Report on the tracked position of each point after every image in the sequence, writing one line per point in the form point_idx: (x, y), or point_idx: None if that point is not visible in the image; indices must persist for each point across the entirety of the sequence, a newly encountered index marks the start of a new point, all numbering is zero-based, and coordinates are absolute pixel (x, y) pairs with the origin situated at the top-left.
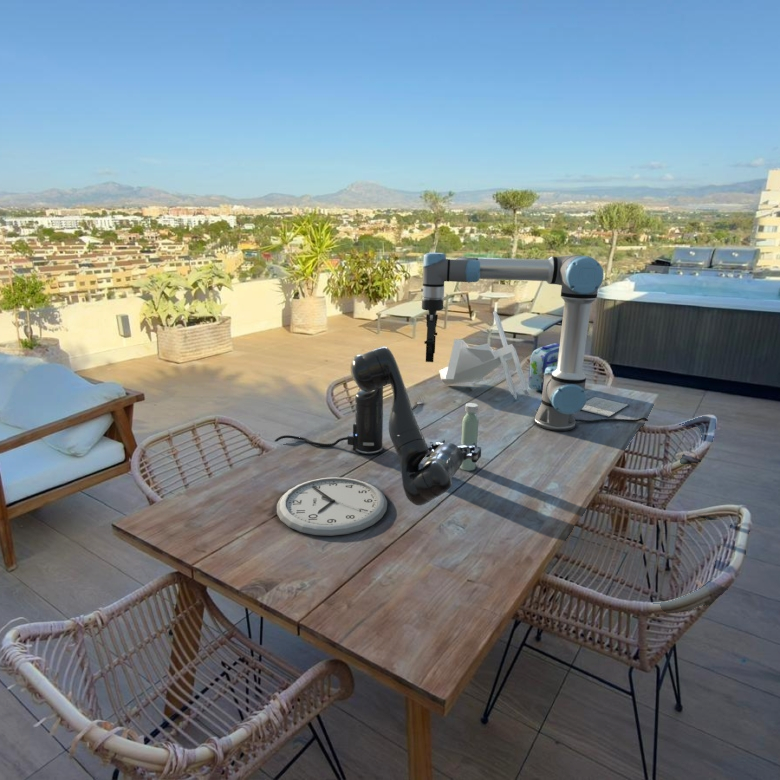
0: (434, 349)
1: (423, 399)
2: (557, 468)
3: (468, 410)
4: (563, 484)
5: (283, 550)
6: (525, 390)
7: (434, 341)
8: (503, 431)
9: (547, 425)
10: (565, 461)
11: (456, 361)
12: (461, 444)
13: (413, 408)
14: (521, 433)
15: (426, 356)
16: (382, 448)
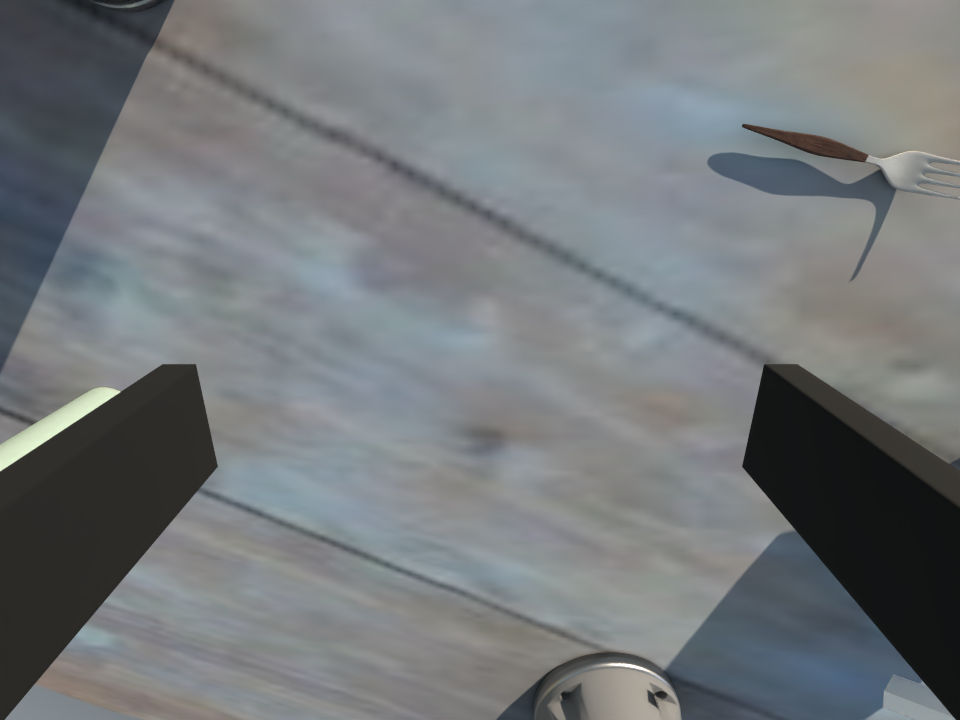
0: (773, 497)
1: (937, 192)
2: (217, 660)
3: None
4: (110, 658)
5: None
6: (883, 701)
7: (873, 605)
8: (506, 548)
9: (546, 692)
10: (278, 684)
11: None
12: (14, 436)
13: (779, 137)
14: (495, 602)
15: (106, 413)
16: (122, 9)
